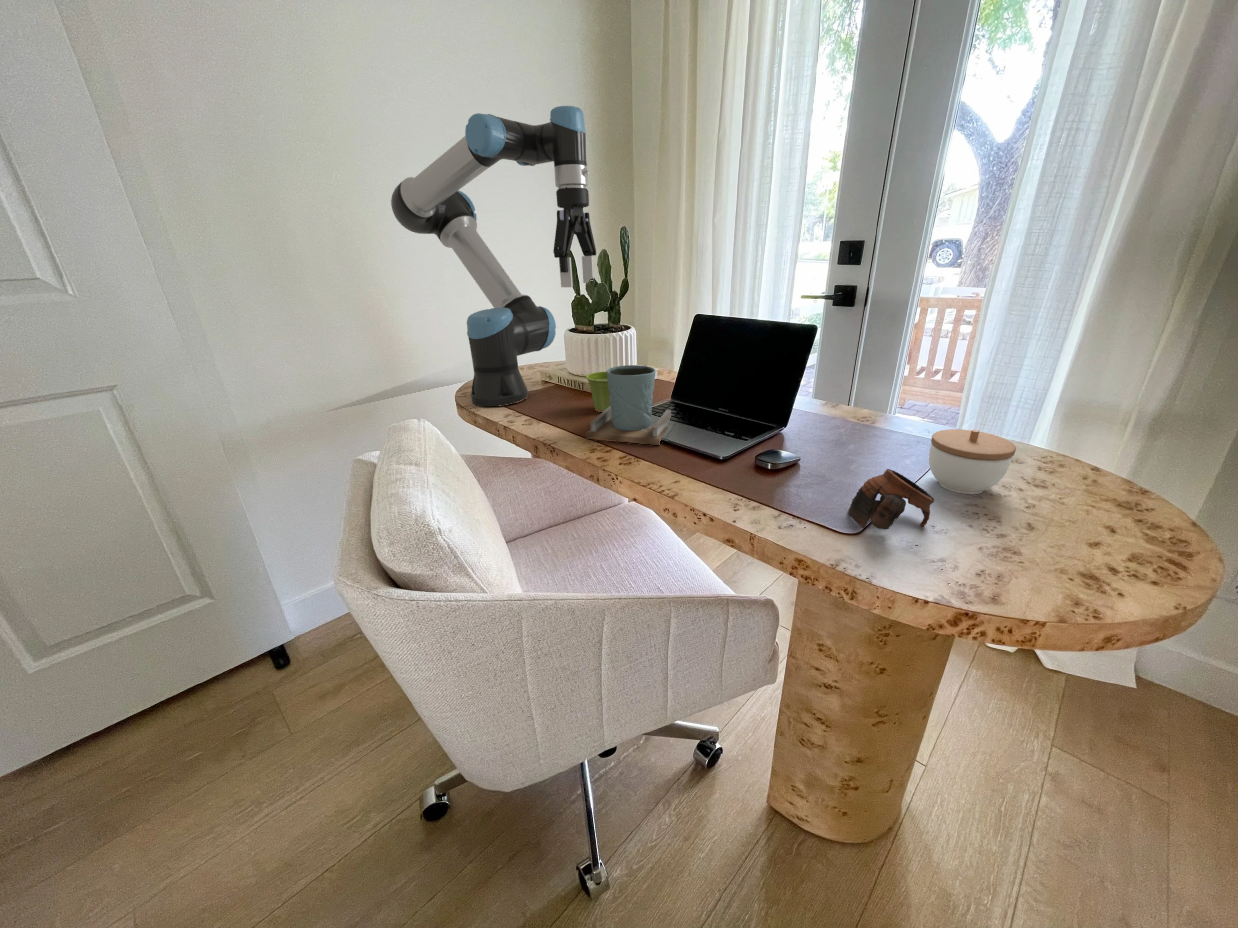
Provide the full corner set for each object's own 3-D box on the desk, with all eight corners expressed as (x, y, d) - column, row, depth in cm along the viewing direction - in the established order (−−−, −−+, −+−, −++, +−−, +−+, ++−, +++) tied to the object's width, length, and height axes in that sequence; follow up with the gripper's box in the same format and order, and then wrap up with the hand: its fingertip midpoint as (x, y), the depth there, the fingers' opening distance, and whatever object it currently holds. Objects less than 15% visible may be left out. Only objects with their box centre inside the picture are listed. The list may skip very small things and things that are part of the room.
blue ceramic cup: (599, 427, 106) (597, 372, 101) (626, 414, 113) (624, 362, 109) (639, 435, 100) (637, 377, 96) (664, 421, 108) (664, 367, 103)
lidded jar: (1016, 503, 73) (1035, 445, 69) (936, 499, 75) (950, 442, 71) (982, 473, 82) (998, 420, 78) (912, 470, 84) (924, 418, 80)
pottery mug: (844, 502, 76) (880, 459, 73) (900, 540, 73) (940, 498, 70) (839, 519, 65) (880, 470, 62) (904, 565, 63) (951, 516, 59)
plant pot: (610, 402, 128) (608, 369, 125) (633, 409, 122) (632, 375, 118) (580, 409, 123) (578, 375, 119) (603, 418, 116) (602, 382, 113)
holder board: (586, 439, 104) (585, 423, 102) (608, 418, 116) (608, 404, 114) (659, 446, 99) (659, 429, 97) (675, 423, 111) (675, 409, 109)
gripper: (564, 181, 102) (571, 289, 111) (605, 191, 123) (609, 281, 132) (532, 184, 104) (541, 289, 113) (578, 194, 126) (583, 281, 134)
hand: (578, 285), depth 123 cm, fingers open, 13 cm apart
